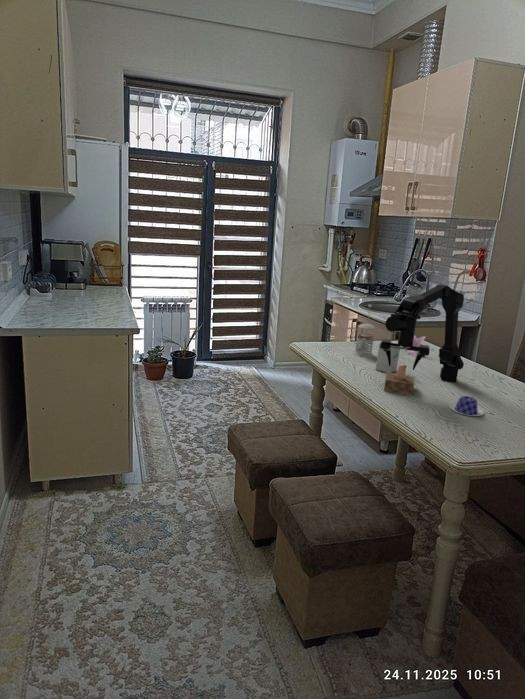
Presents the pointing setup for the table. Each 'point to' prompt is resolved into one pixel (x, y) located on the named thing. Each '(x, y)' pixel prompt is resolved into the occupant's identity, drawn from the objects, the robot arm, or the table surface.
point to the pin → (401, 372)
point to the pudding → (467, 406)
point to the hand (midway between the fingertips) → (401, 367)
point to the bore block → (399, 384)
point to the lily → (416, 344)
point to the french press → (369, 340)
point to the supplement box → (383, 360)
